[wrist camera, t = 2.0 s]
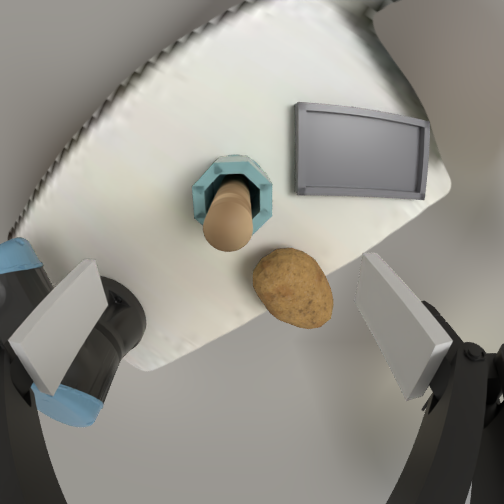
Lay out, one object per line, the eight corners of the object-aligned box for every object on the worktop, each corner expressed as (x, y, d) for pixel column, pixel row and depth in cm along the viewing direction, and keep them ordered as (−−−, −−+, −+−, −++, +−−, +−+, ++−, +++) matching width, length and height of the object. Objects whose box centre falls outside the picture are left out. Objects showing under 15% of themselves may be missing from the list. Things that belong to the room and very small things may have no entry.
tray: (294, 191, 37) (297, 195, 35) (294, 104, 32) (298, 102, 30) (416, 196, 37) (424, 200, 35) (421, 121, 33) (429, 121, 30)
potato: (294, 319, 46) (302, 352, 38) (235, 265, 41) (234, 294, 34) (340, 284, 43) (357, 313, 36) (286, 222, 39) (296, 244, 32)
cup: (206, 215, 38) (195, 240, 29) (203, 156, 35) (189, 163, 26) (265, 213, 38) (272, 238, 29) (265, 154, 35) (273, 160, 26)
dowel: (221, 199, 36) (205, 252, 21) (220, 173, 35) (201, 205, 19) (249, 199, 36) (253, 251, 21) (248, 172, 35) (252, 203, 19)
